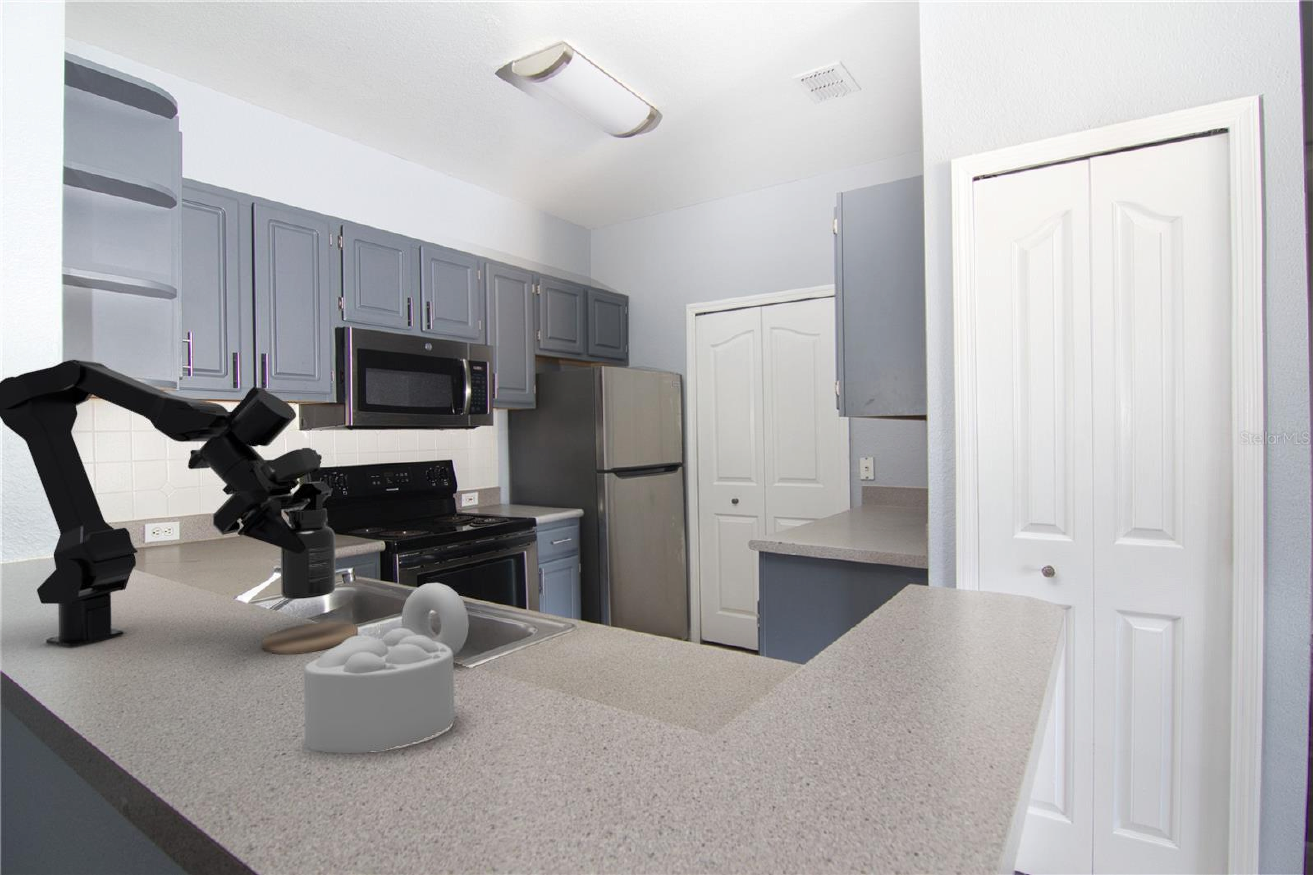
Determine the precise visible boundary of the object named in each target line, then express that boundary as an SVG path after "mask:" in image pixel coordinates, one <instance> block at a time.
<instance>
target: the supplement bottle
mask: <svg viewBox="0 0 1313 875" xmlns="http://www.w3.org/2000/svg"><path fill="white" fill-rule="evenodd" d="M326 522H327V523H328V509H327V508H322V509H300V510H291V511H289V517H288V521H287V524H288V525H289V526H290V527H291V529H292V530H293V531H294V533H295V534H296V535H297V536H298V538H299V539H300V540H301V542H302V543H303V545H304V546H305V550H304V551H303V552H302V553H301V554H297V553H294V552H292V551H289V550H286V549H283V548H281V547H280V594H281V596H282V597H283V598H284V599H287V600H289V599H291V600H301V599H310V598H311V599H312V598H317V597H323V596H328V595H329V594H332V593H333V592H334V591H335V590H336V534H335V532H334V531H335V530H334V529H332V528H331V527H330V526H329V527H327V526H326Z"/></svg>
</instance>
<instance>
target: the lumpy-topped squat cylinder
mask: <svg viewBox="0 0 1313 875" xmlns="http://www.w3.org/2000/svg"><path fill="white" fill-rule="evenodd" d="M303 673H304V674H303V677H304V678H303V679H304V682H303V684H304V687H303V689H304V692H303V693H304V695H303V696H304V744H305V747H306V746H307V747H308V748H307V747H306V748H307V749H309V750H311V751H315V752H320V751H322V753H337V754H367V753H366V752H371V751H382V750H386V749H390V748H394V747H396V746H403V745H406V744H411V743H413V742H418V741H420V740H423V739H424V738H426V737H431V736H432V735H435V734H436V733H437V732H442V731H443V730H445V729H446V728H448V727H450V725H451V724H452V723H453V722H454V723H455V698H454V697H455V695H454V694H455V692H454V691H455V688H454V687H455V686H454V680H455V679H454V678H455V677H454V656H453V652H452V650H451V649H450V648H449V647H448V646H446V645H444V644H442V643H439V642H434V641H432V640H431V639H430V638H428V637H426V636H422V635H416V634H415V633H414V632H412V631H411V630H409V629H405V628H402V627H401V628H399V627H398V628H393V629H390V630H389V631H387V633H385V634H384V636H383V637H382V638H377V637H373V636H370V635H369V636H368V635H363V634H362V635H359V634H358V635H357V636H353V637H350V638H348V639H346V640H345V641H344V642H343V643H342V644H340V645H338V646H336V647H333V648H329V649H327V651H325V652H324V653H323V654H322V655H321V656H319V658H317V659H315V660H312V661H310V662H309V663H307V664H306V665H305V666H304V670H303ZM363 752H364V753H363Z"/></svg>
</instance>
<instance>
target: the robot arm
mask: <svg viewBox="0 0 1313 875" xmlns="http://www.w3.org/2000/svg"><path fill="white" fill-rule="evenodd" d="M92 396H94V397H96V398H99V399H102V400H103V401H107V402H109V403H111V404H113V405H116V406H119V407H121V408H123V409H125V410H128V411H130V412H132V413H135V414H136V415H140V416H141V417H143V418H146V419H147V420H149V421H150V423H151V425H152V426H153V427H154V428H155V429H156V430H157V431H159V432H160V433H162V434H163V435H165V436H167V438H170V439H171V440H173V441H175V442H180V443H188V442H191V443H192V442H193V443H194V442H202V443H203V445H202V446H201V447H200V448H199V449H192V450H190V452H189V453H190V457H189V459H188V465H187V468H188V469H190V470H199V469H200V470H201V469H211V471H213V472H214V473H215V474H216V475H217V476H218V478H219V479H221V480H222V481H223V482H224V484H226V485H225V486H224V487H223V488H222V492H224V493H225V495H227V496H229V495H231V496H230V497H229V498H228V499H227V500H226V501H225V502H223V504H222V505H221V506H220V507H219V508H218V509H217V510H216V511H215V512H214V513H213V514H212V526H214V528H215V529H216V530H217V531H218V532H219V533H220V534H221V535H223V536H224V535H225V536H226V535H229V534H233V533H237V535H238V536H240V537H243V536H245V537H248V538H250V539H254V540H257V541H260V542H264V543H267V544H270V545H272V546H275V547H278V548H280V549H281V548H283V549H286V550H289V551H292V552H294V553H297V554H301V553H302V552H303V551H304V550H305V546H304V545H303V543H302V542H301V540H300V539H299V538H298V536H297V535H296V534H295V533H294V531H293V530H292V529H291V527H290V524H288V521H286V520H285V518H284V517H283V513H284V514H285V515H286V516H287V517H288V518H289V511H291V510H300V509H323V506H324V502H325V500H326V499H327V498H328V497H329V496H330V495H331V494H332V493H333V489H332V488H331V487H330V486H329V485H328V484H327V483H326V482H325V481H312V482H305V483H304V482H303V483H302V484H301V485H300V486H299V484H300V483H301V482H300V481H299V480H298V479H300V478H303V477H305V476H307V475H309V474H310V473H317V472H318V471H320V470H322V469H321V468H322V467H321V465H322V458H323V457H322V455H321V454H318V453H317V451H316V449H312V448H311V447H302V448H298V449H297V448H296V449H294V450H291V451H288V452H286V453H285V454H282V455H280V456H278V457H276V458H273V459H265V458H264V457H262V455H261V454H260V453H259V452H258V451H256V449H255V448H256V447H258V446H261V447H268V446H270V445H271V444H272V443H273V441H275V440H276V439H277V437H279V436H280V434H281V433H282V432H283V431H285V429H287V427H289V425H290V424H291V423H292V422H293V421H294V420H295V419H296V417H297V413H296V411H295V409H294V408H293V407H292V405H290V404H289V403H288V402H286V401H283V400H282V399H281V398H279V397H277V396H276V395H274V394H272V393H270V392H268V391H267V390H266V389H265V388H264V387H259V386H258V387H256V386H255V387H254V386H253V387H252V388H250V390H249V391H248V392H247V393H246V394H245V397H244V398H243V399H242V400H241V401H240V402H239V403H238V404H237V405H236V406H235V407H234V409H232V410H231V411H228V410H227V409H226V407H224V405H221V404H220V403H216V402H212V401H206V400H203V399H196V398H193V397H192V398H191V397H185V396H179V395H174V394H171V393H168V392H167V391H164V390H161V389H159V388H157V387H155V386H152V385H149V384H147V383H145V382H143V381H139V380H137V379H135V378H132V377H131V376H128V375H125V374H123V373H121V372H118V371H115V370H114V369H112V368H111V369H110V368H109V367H107V366H106V365H104V364H102V363H100V362H96V361H87V360H80V359H69V360H66V361H62V362H60V363H58V364H55V365H54V366H49V367H46V368H43V369H38V370H33V371H29V372H24V373H21V374H19V375H17V376H9V377H5V378H4V379H2V380H1V381H0V420H2V423H3V424H4V425H5V426H6V427H8V429H10V430H11V431H12V432H14V433H15V434H16V435H18V436H19V437H20V438H21V439H23V440H24V441H25V443H26V445H27V448H28V450H29V453H30V456H31V458H32V461H33V464H34V465H35V466H34V467H35V469H36V472H37V474H38V475H37V476H38V477H39V480H40V482H41V485H42V487H43V491H44V493H45V495H46V498H47V501H48V504H49V507H50V509H51V512H52V515H53V517H54V519H55V522H56V525H57V528H58V530H59V538H58V540H57V543H56V546H55V549H54V551H53V559H54V566H55V570H54V571H53V572H52V573H51V574H50V575H49V576H48V577H47V578H46V579H45V580H44V581H43V583H42V584H40V586H39V587H38V588H37V589H36V593H37V595H38V599H39V601H40V603H41V604H43V605H44V604H45V605H48V604H49V605H51V604H57V606H58V608H57V611H58V636H53V637H50V638H49V637H48V638H46V639H45V642H46V644H53V645H59V646H63V647H69V648H72V647H77V646H80V645H86V644H89V643H94V642H98V641H102V640H105V639H109V638H113V637H117V636H122V635H123V634H124V630H122V629H115V628H112V593H114V592H118V591H125V590H126V589H127V585H128V582H129V579H130V577H131V574H132V572H133V570H134V568H135V567H136V564H137V560H136V555H135V554H137V553H138V550H137V549H136V547H135V546H134V544H133V542H132V540H131V539H132V538H131V534H130V532H129V530H128V529H127V528H126V527H120V528H114V527H112V526H111V525H110V524H108V523H107V522H106V521H105V518H104V516H103V513H102V511H101V508H100V506H99V503H98V500H97V498H96V495H95V492H94V490H93V487H92V484H91V482H90V479H89V476H88V474H87V471H86V468H85V466H84V463H83V460H82V457H81V455H80V453H79V450H78V447H77V444H76V442H75V439H74V437H73V433H72V431H73V428H74V426H75V423H76V420H77V418H78V410H77V406H79V405H81V404H83V403H85V402H87V401H89V400H90V399H91V398H92ZM297 486H299V487H298V488H297V489H296V490H295V492H294V493H293V492H292V490H293V489H295V488H296V487H297ZM282 512H283V513H282ZM239 520H241V521H240V522H239ZM241 524H242V527H241ZM329 525H330V524H328V521H327V522H326V526H327V527H329V528H330V526H329Z"/></svg>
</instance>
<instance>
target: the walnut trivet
mask: <svg viewBox="0 0 1313 875" xmlns="http://www.w3.org/2000/svg"><path fill="white" fill-rule="evenodd" d="M358 635H359V628H358V626H357V625H356V624H354V623H350V622H342V621H340V622H339V621H327V622H315V623H308V624H301V625H296V626H291V627H287V628H285V629H281V630H280V629H279V630H278V631H275V632H272V633H270V634H268V635H266V636H265V637H264V638H263V639H262V640H261V648H262V651H265V652H266V653H268V654H269V653H270V654H275V655H276V654H279V655H291V654H292V655H294V654H308V653H314V652H319V651H323V650H324V651H325V650H330V649H332V648H334V647H336V646H338V645H340V644H342V643H343V642H344V641H345V640H346V639H348V638H350V637H353V636H358Z"/></svg>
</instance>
